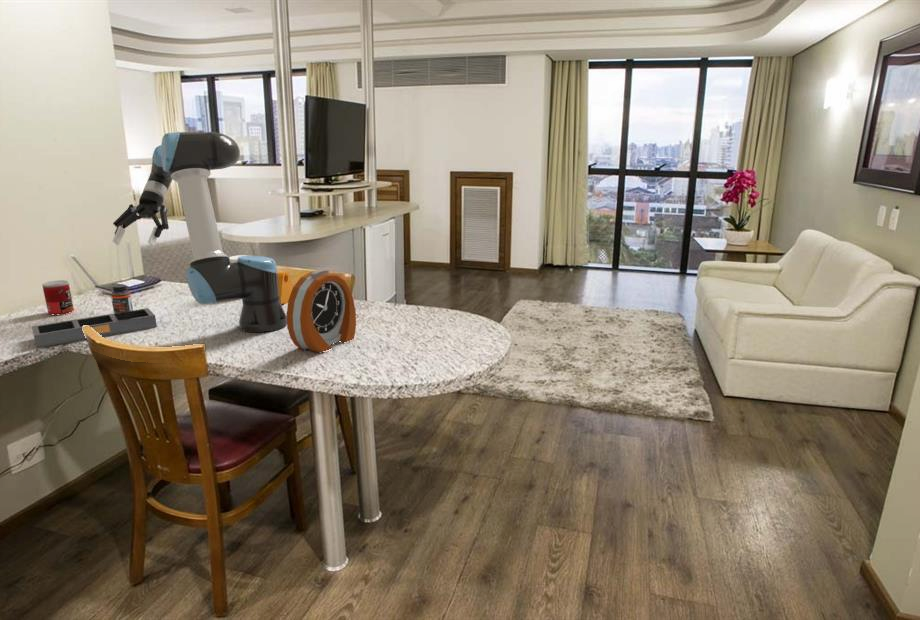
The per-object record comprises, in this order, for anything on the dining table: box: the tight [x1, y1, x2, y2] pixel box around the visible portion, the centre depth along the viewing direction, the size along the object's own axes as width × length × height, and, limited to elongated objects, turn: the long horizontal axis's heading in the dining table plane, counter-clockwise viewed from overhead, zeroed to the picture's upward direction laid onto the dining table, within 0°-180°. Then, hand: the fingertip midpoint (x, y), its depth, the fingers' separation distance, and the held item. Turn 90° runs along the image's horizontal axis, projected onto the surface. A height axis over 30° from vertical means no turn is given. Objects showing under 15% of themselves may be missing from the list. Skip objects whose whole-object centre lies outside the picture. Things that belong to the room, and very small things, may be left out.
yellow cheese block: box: [277, 270, 294, 305], centre depth 225 cm, size 11×7×12 cm, turn 169°
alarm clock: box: [286, 269, 357, 353], centre depth 178 cm, size 22×10×23 cm, turn 151°
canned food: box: [41, 279, 75, 316], centre depth 213 cm, size 8×8×11 cm
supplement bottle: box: [110, 284, 134, 314], centre depth 207 cm, size 6×6×11 cm
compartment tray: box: [31, 307, 158, 349], centre depth 192 cm, size 11×33×4 cm, turn 127°
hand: (133, 243), depth 212 cm, fingers open, 13 cm apart
